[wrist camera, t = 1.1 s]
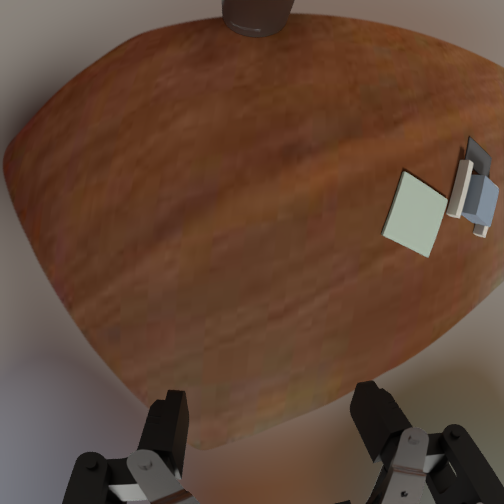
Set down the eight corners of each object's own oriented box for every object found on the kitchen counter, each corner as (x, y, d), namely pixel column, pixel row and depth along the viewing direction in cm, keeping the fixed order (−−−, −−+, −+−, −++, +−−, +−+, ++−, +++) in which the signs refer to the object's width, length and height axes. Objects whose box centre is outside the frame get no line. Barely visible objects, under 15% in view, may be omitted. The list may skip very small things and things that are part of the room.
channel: (465, 133, 34) (474, 132, 32) (493, 161, 35) (502, 161, 33) (446, 213, 37) (455, 215, 34) (476, 235, 38) (485, 237, 36)
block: (465, 174, 36) (485, 175, 31) (480, 187, 36) (499, 189, 32) (456, 211, 37) (475, 215, 32) (471, 222, 38) (490, 227, 33)
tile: (402, 171, 35) (404, 171, 34) (445, 199, 36) (447, 200, 36) (381, 234, 37) (382, 235, 36) (426, 256, 38) (428, 257, 38)
